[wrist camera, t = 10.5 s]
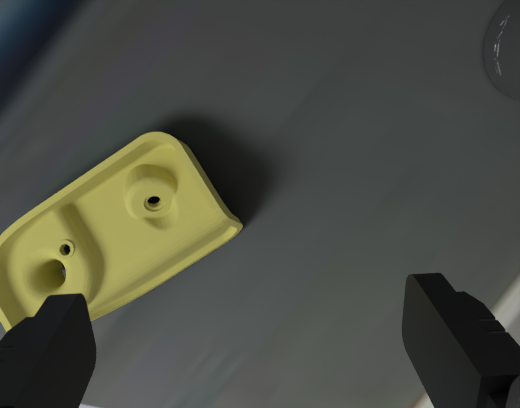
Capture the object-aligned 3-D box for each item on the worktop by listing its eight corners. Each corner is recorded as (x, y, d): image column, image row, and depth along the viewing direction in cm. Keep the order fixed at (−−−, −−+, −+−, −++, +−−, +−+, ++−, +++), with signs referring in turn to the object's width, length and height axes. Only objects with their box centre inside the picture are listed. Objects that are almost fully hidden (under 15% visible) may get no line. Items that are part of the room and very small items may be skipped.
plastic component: (165, 118, 35) (233, 229, 34) (192, 136, 43) (249, 227, 42) (-36, 255, 37) (23, 363, 36) (22, 249, 45) (73, 339, 44)
